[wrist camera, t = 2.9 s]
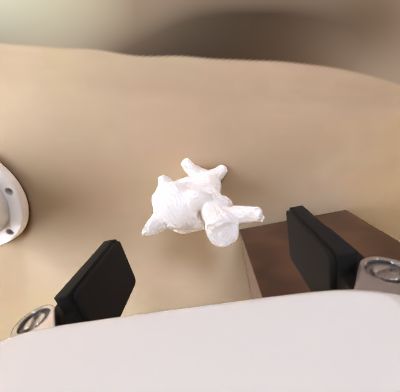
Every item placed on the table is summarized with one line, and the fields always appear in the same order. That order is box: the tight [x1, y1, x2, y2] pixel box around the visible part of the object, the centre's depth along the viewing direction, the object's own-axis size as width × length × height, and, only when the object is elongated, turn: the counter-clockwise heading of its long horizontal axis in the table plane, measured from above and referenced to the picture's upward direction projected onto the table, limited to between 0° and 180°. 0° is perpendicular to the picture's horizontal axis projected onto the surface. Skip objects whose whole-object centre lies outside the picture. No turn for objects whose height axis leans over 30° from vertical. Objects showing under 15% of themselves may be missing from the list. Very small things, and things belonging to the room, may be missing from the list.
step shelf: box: [239, 210, 400, 299], centre depth 23 cm, size 13×22×11 cm, turn 13°
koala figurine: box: [142, 158, 265, 247], centre depth 17 cm, size 8×7×12 cm
